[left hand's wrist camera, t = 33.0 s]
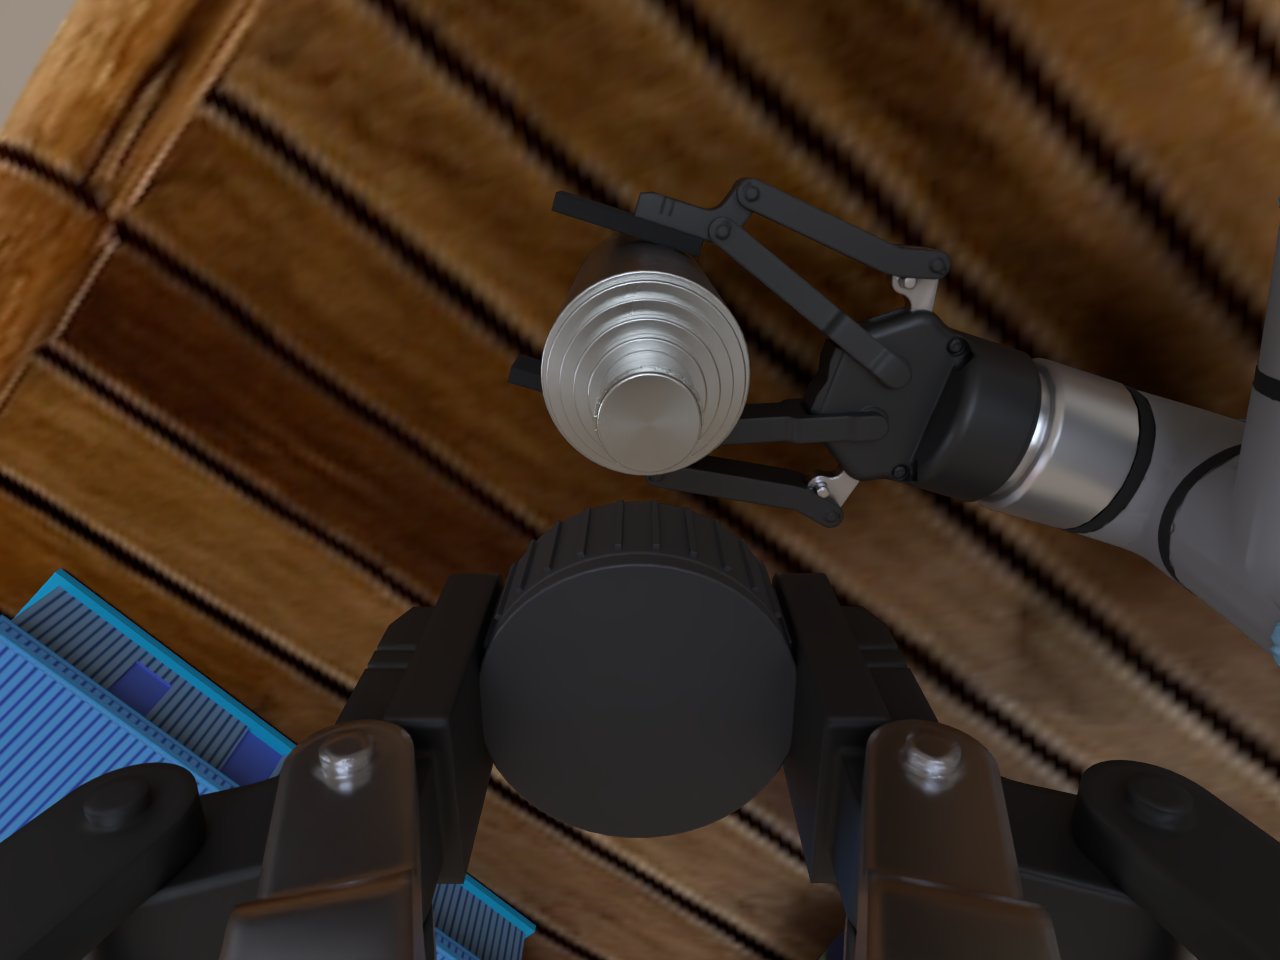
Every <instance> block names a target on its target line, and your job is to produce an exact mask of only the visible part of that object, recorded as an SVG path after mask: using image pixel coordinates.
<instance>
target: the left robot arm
mask: <svg viewBox="0 0 1280 960" xmlns="http://www.w3.org/2000/svg"><path fill="white" fill-rule="evenodd" d="M772 588H775V591H776V594H777V597H778V600H779V604H780V607H781V610H782V613H783V616H784V619H785V622H786V625H787V629H788V632H789V635H790V638H791V641H792V643H791V650H792V653H793V656H794V659H795V662H796V666H797V673H796V687H795V700H794V713H793V726H792V739H791V749H790V752H789V754H788V756H787V757H786V759H785V761H784V762H783V768H784V772H785V776H786V780H787V784H788V789H789V793H790V797H791V801H792V805H793V810H794V814H795V818H796V822H797V826H798V831H799V835H800V839H801V843H802V847H803V852H804V856H805V860H806V864H807V869H808V873H809V877H810V881H811V883H837V884H838V887H839V891H840V895H841V898H842V902H843V906H844V909H845V912H846V914H847V915H846V923H845V932H844V953H843V960H1196V958H1197V959H1198V960H1280V843H1279V842H1278V841H1277V840H1275V839H1274V838H1273V837H1271V836H1270V835H1268V834H1267V833H1266V832H1264V831H1263V830H1261V829H1260V828H1259V827H1257V826H1256V825H1254V824H1253V823H1252V822H1250V821H1249V820H1248V819H1246V818H1245V817H1243V816H1242V815H1241V814H1239V813H1238V812H1236V811H1235V810H1234V809H1232V808H1231V807H1229V806H1228V805H1227V804H1225V803H1224V802H1223V801H1221V800H1220V799H1218V798H1217V797H1216V796H1214V795H1213V794H1211V793H1210V792H1209V791H1207V790H1206V789H1204V788H1203V787H1201V786H1200V785H1198V784H1197V783H1195V782H1193V781H1191V780H1189V779H1187V778H1186V777H1184V776H1181V775H1179V774H1177V773H1175V772H1172V771H1170V770H1167V769H1164V768H1161V767H1158V766H1155V765H1151V764H1147V763H1142V762H1136V761H1128V760H1110V761H1105V762H1100V763H1097V764H1095V765H1093V766H1091V767H1090V768H1088V769H1087V770H1086V771H1085V772H1084V774H1083V775H1082V778H1081V781H1080V785H1079V789H1078V793H1077V795H1075V794H1070V793H1066V792H1061V791H1057V790H1052V789H1048V788H1043V787H1038V786H1034V785H1029V784H1025V783H1021V782H1017V781H1013V780H1010V779H1007V778H1004V777H1001V776H1000V773H999V768H998V765H997V762H996V761H995V759H994V757H993V756H992V754H991V753H990V752H989V751H988V750H987V749H986V748H985V747H984V746H983V745H982V744H981V743H980V742H979V741H977V740H976V739H974V738H973V737H971V736H970V735H968V734H966V733H964V732H962V731H960V730H958V729H955V728H953V727H951V726H948V725H944V724H941V723H939V722H938V720H937V718H936V716H935V715H934V713H933V711H932V709H931V707H930V705H929V703H928V702H927V700H926V698H925V696H924V694H923V692H922V690H921V689H920V687H919V685H918V683H917V681H916V679H915V677H914V675H913V674H912V672H911V670H910V668H907V662H906V661H905V659H904V657H903V655H902V653H901V651H900V650H898V646H897V644H896V642H895V640H894V638H893V636H892V634H891V633H890V631H889V629H888V627H887V625H886V624H885V623H883V622H882V621H881V620H880V619H878V618H877V617H876V616H874V615H873V614H872V613H870V612H869V611H868V610H866V609H865V608H864V607H862V606H840V605H839V602H838V600H837V598H836V596H835V594H834V591H833V589H832V587H831V585H830V583H829V580H828V578H827V576H826V575H825V574H824V573H775V574H774V576H773V580H772ZM501 589H502V590H504V582H503V577H502V575H501V574H451V575H450V576H449V578H448V580H447V582H446V584H445V586H444V589H443V591H442V593H441V595H440V597H439V599H438V601H437V604H436V606H435V607H412V608H411V609H410V610H409V611H407V612H406V613H405V614H403V615H402V616H401V617H399V618H398V619H397V620H395V621H394V622H393V623H391V624H390V625H389V626H388V628H387V630H386V632H385V634H384V636H383V637H382V639H381V641H380V643H379V645H378V649H377V651H375V652H374V654H373V656H372V658H371V659H370V661H369V663H368V669H365V670H364V672H363V674H362V676H361V678H360V680H359V681H358V683H357V685H356V687H355V689H354V690H353V692H352V694H351V696H350V698H349V700H348V701H347V703H346V705H345V707H344V709H343V711H342V712H341V714H340V716H339V718H338V720H337V722H336V723H335V725H332V726H329V727H327V728H325V729H322V730H320V731H318V732H316V733H314V734H312V735H310V736H309V737H307V738H306V739H304V740H303V741H301V742H300V743H299V744H298V745H297V746H296V747H295V748H294V749H293V750H292V751H291V752H290V753H289V754H288V756H287V757H286V759H285V761H284V762H283V765H282V768H281V772H280V775H278V776H275V777H272V778H270V779H267V780H264V781H261V782H257V783H253V784H249V785H245V786H240V787H235V788H231V789H226V790H222V791H217V792H213V793H208V794H204V795H199V791H198V787H197V783H196V780H195V777H194V776H193V774H192V773H191V772H190V771H189V770H187V769H186V768H184V767H182V766H179V765H176V764H171V763H162V762H153V763H142V764H136V765H131V766H127V767H123V768H119V769H116V770H114V771H111V772H108V773H105V774H103V775H101V776H98V777H96V778H94V779H92V780H90V781H88V782H86V783H84V784H83V785H81V786H79V787H78V788H76V789H75V790H73V791H72V792H70V793H69V794H67V795H66V796H64V797H63V798H62V799H60V800H59V801H57V802H56V803H55V804H53V805H52V806H51V807H49V808H48V809H46V810H45V811H44V812H42V813H41V814H39V815H38V816H37V817H35V818H34V819H32V820H31V821H30V822H28V823H27V824H26V825H24V826H23V827H21V828H20V829H19V830H17V831H16V832H14V833H13V834H12V835H10V836H9V837H7V838H6V839H5V840H3V841H2V842H0V960H437V953H436V932H435V923H434V915H433V906H432V900H433V896H434V893H435V889H436V886H437V884H464V881H465V877H466V872H467V868H468V864H469V860H470V856H471V852H472V848H473V844H474V840H475V836H476V832H477V827H478V823H479V819H480V815H481V811H482V807H483V803H484V799H485V795H486V791H487V787H488V783H489V778H490V774H491V770H492V766H493V761H492V759H491V757H490V756H489V754H488V752H487V749H486V747H485V744H484V734H483V721H482V709H481V696H480V684H479V670H480V666H481V662H482V659H483V656H484V653H485V650H486V649H484V641H485V638H486V635H487V632H488V629H489V626H490V623H491V620H492V617H493V614H494V611H495V608H496V605H497V602H498V599H499V595H500V592H501Z"/></svg>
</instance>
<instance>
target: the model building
mask: <svg viewBox="0 0 1280 960" xmlns="http://www.w3.org/2000/svg"><path fill="white" fill-rule="evenodd" d="M296 746H297V745H295V744H294V743H293V742H291V741H290V740H289V739H287V738H286V737H285V736H283V735H282V734H281V733H279V732H278V731H277V730H275V729H274V728H273V727H271V726H270V725H269V724H267V723H266V722H265V721H263V720H262V719H261V718H259V717H258V716H257V715H255V714H254V713H253V712H251V711H250V710H249V709H247V708H246V707H245V706H243V705H242V704H241V703H239V702H238V701H237V700H235V699H234V698H233V697H231V696H230V695H229V694H227V693H226V692H225V691H223V690H222V689H221V688H219V687H218V686H217V685H215V684H214V683H213V682H211V681H210V680H209V679H207V678H206V677H205V676H203V675H202V674H201V673H199V672H198V671H197V670H195V669H194V668H193V667H191V666H190V665H189V664H187V663H186V662H185V661H183V660H182V659H181V658H179V657H178V656H177V655H175V654H174V653H173V652H171V651H170V650H169V649H168V648H166V647H165V646H164V645H162V644H161V643H160V642H158V641H157V640H156V639H154V638H153V637H152V636H150V635H149V634H148V633H146V632H145V631H144V630H142V629H141V628H140V627H138V626H137V625H136V624H134V623H133V622H132V621H130V620H129V619H128V618H126V617H125V616H124V615H122V614H121V613H120V612H118V611H117V610H116V609H114V608H113V607H112V606H110V605H109V604H108V603H106V602H105V601H104V600H102V599H101V598H100V597H98V596H97V595H96V594H94V593H93V592H92V591H90V590H89V589H88V588H86V587H85V586H84V585H82V584H81V583H80V582H78V581H77V580H76V579H74V578H73V577H72V576H70V575H69V574H68V573H66V572H65V571H64V570H62V569H59V570H58V571H56V572H55V573H54V574H53V575H52V577H51V578H50V579H49V580H48V581H47V582H46V583H45V584H44V585H43V587H42V588H41V589H40V590H39V591H38V592H37V593H36V594H35V595H34V597H33V598H32V599H31V600H30V601H29V602H28V603H27V604H26V605H25V607H24V608H23V609H22V610H21V611H20V612H19V613H18V614H17V615H16V617H15V618H14V619H12V620H9V619H8V618H6V617H5V616H4V615H0V842H2V841H3V840H5V839H6V838H7V837H9V836H10V835H12V834H13V833H14V832H16V831H17V830H19V829H20V828H21V827H23V826H24V825H26V824H27V823H28V822H30V821H31V820H32V819H34V818H35V817H37V816H38V815H39V814H41V813H42V812H44V811H45V810H46V809H48V808H49V807H51V806H52V805H53V804H55V803H56V802H57V801H59V800H60V799H62V798H63V797H64V796H66V795H67V794H69V793H70V792H72V791H73V790H75V789H76V788H78V787H79V786H81V785H83V784H84V783H86V782H88V781H90V780H92V779H94V778H96V777H98V776H101V775H103V774H105V773H108V772H111V771H114V770H116V769H119V768H123V767H127V766H131V765H136V764H142V763H153V762H162V763H171V764H176V765H179V766H182V767H184V768H186V769H187V770H189V771H190V772H191V773H192V774H193V776H194V777H195V780H196V783H197V787H198V791H199V795H204V794H208V793H213V792H217V791H222V790H226V789H231V788H235V787H240V786H245V785H249V784H253V783H257V782H261V781H264V780H267V779H270V778H272V777H275V776H278V775H280V772H281V768H282V765H283V762H284V761H285V759H286V757H287V756H288V754H289V753H290V752H291V751H292V750H293V749H294V748H295V747H296ZM432 906H433V915H434V923H435V932H436V953H437V960H521V959H522V952H523V946H524V939H526V938H527V937H528V936H530V935H531V934H532V933H534V932H535V929H536V925H535V924H533V923H532V922H531V921H529V920H528V919H527V918H525V917H524V916H523V915H521V914H520V913H519V912H517V911H516V910H515V909H513V908H512V907H511V906H509V905H508V904H507V903H505V902H504V901H503V900H501V899H500V898H499V897H497V896H496V895H495V894H493V893H492V892H491V891H489V890H488V889H487V888H485V887H484V886H483V885H481V884H480V883H479V882H477V881H476V880H475V879H473V878H472V877H471V876H469V875H468V874H467V873H466V877H465V881H464V884H437V886H436V889H435V893H434V896H433V900H432Z"/></svg>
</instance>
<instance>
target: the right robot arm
mask: <svg viewBox="0 0 1280 960" xmlns="http://www.w3.org/2000/svg"><path fill="white" fill-rule="evenodd" d="M1278 201H1279V206H1280V196H1279V198H1278ZM552 211H555V212H558V213H561V214H564V215H568V216H571V217H574V218H577V219H580V220H583V221H586V222H590V223H593V224H596V225H599V226H602V227H605V228H608V229H612V230H615V231H618V232H621V233H624V234H627V235H630V236H634V237H637V238H640V239H643V240H646V241H649V242H652V243H656V244H659V245H662V246H665V247H668V248H671V249H674V250H678V251H681V252H684V253H687V254H690V255H693V256H696V257H699V254H700V251H701V247H702V244H703V241H704V240H706V241H709V242H712V243H715V244H716V245H717V246H718V247H719V248H721V249H722V250H723V251H724V252H726V253H727V254H728V255H729V256H730V257H732V258H733V259H734V260H735V261H737V262H738V263H739V264H740V265H741V266H743V267H744V268H745V269H746V270H748V271H749V272H750V273H751V274H752V275H754V276H755V277H756V278H757V279H759V280H760V281H761V282H762V283H763V284H765V285H766V286H767V287H768V288H770V289H771V290H772V291H773V292H774V293H776V294H777V295H778V296H779V297H781V298H782V299H783V300H784V301H785V302H787V303H788V304H789V305H790V306H792V307H793V308H794V309H795V310H796V311H798V312H799V313H800V314H801V315H803V316H804V317H805V318H806V319H807V320H809V321H810V322H811V323H812V324H814V325H815V326H816V327H817V328H818V329H820V330H821V331H822V332H823V333H824V334H826V335H827V336H828V337H829V338H830V339H826V341H825V343H824V346H823V349H822V351H821V354H820V363H819V370H818V372H817V374H816V375H815V376H814V378H813V379H812V381H811V382H810V383H809V385H808V387H807V390H806V393H805V395H804V398H800V399H787V400H783V401H782V402H778V403H764V404H747V405H745V407H744V409H743V412H742V414H741V416H740V418H739V420H738V422H737V424H736V425H735V427H734V428H733V430H732V431H731V433H730V434H729V435H728V437H727V438H726V439H725V440H724V441H723V442H722V443H721V444H720V445H732V444H748V443H765V442H782V441H789V442H793V443H797V444H806V443H823V442H824V443H825V445H826V446H827V448H828V449H829V451H830V452H831V453H832V455H833V456H834V458H835V459H836V460H837V462H838V463H839V466H838V467H837V468H835V469H834V470H832V471H822V470H813V471H811V472H809V473H808V474H807V475H806V476H805V475H803V474H801V473H798V472H795V471H792V470H788V469H784V468H778V467H772V466H766V465H760V464H754V463H749V462H743V461H737V460H731V459H725V458H719V457H713V456H706V457H704V458H703V459H701V460H700V461H698V462H696V463H694V464H692V465H690V466H688V467H685V468H683V469H680V470H677V471H674V472H669V473H665V474H659V475H645V479H646V481H647V482H648V483H649V484H650V485H652V486H654V487H659V488H665V489H671V490H677V491H683V492H689V493H695V494H701V495H707V496H713V497H719V498H725V499H731V500H737V501H743V502H749V503H755V504H761V505H767V506H773V507H779V508H785V509H791V510H796V511H798V512H800V513H801V514H803V515H805V516H807V517H809V518H810V519H812V520H814V521H816V522H818V523H819V524H821V525H823V526H825V527H828V528H830V527H835V526H838V525H839V524H840V523H841V522H842V520H843V511H842V509H841V506H842V505H843V503H844V502H845V500H846V499H847V498H848V496H849V495H850V494H851V492H852V491H853V489H854V488H855V487H856V485H857V484H858V482H859V481H871V480H876V479H891V480H895V481H898V482H901V483H904V484H907V485H911V486H914V487H918V488H921V489H924V490H928V491H931V492H935V493H938V494H941V495H945V496H948V497H952V498H955V499H958V500H962V501H966V502H974V501H978V502H979V503H980V505H981V506H983V507H986V508H988V509H991V510H995V511H999V512H1002V513H1006V514H1009V515H1013V516H1016V517H1020V518H1023V519H1027V520H1030V521H1034V522H1038V523H1041V524H1045V525H1048V526H1052V527H1056V528H1059V529H1063V530H1066V531H1069V532H1072V533H1077V534H1080V535H1083V536H1086V537H1089V538H1093V539H1096V540H1099V541H1102V542H1105V543H1108V544H1111V545H1114V546H1118V547H1121V548H1124V549H1126V550H1129V551H1131V552H1134V553H1136V554H1138V555H1140V556H1142V557H1144V558H1145V559H1147V560H1148V561H1149V562H1151V563H1152V564H1153V565H1155V566H1156V567H1157V568H1159V569H1160V570H1161V571H1162V572H1164V573H1165V574H1166V575H1167V576H1169V577H1170V578H1171V579H1173V580H1174V581H1175V582H1177V583H1178V584H1179V585H1181V586H1182V587H1183V588H1185V589H1187V590H1189V591H1190V592H1191V593H1193V594H1194V595H1196V596H1198V597H1199V598H1200V599H1202V600H1203V601H1204V602H1205V603H1207V604H1208V605H1209V606H1210V607H1212V608H1213V609H1214V610H1215V611H1217V612H1218V613H1219V614H1220V615H1222V616H1223V617H1224V618H1225V619H1227V620H1228V621H1229V622H1230V623H1232V624H1233V625H1234V626H1235V627H1237V628H1238V629H1239V630H1240V631H1242V632H1243V633H1244V634H1245V635H1246V636H1248V637H1249V638H1250V639H1251V640H1252V641H1254V642H1255V643H1256V644H1257V645H1259V646H1260V647H1261V648H1262V649H1263V650H1265V651H1266V652H1267V653H1268V654H1269V655H1271V656H1272V657H1273V658H1274V661H1275V662H1276V663H1277V664H1278V665H1279V666H1280V224H1279V231H1278V238H1277V244H1276V251H1275V257H1274V264H1273V270H1272V277H1271V284H1270V290H1269V297H1268V303H1267V310H1266V317H1265V323H1264V330H1263V336H1262V343H1261V349H1260V356H1259V361H1257V362H1258V364H1257V365H1256V371H1255V377H1254V381H1253V384H1252V390H1251V395H1250V401H1249V406H1248V412H1247V418H1246V420H1243V419H1239V420H1236V419H1233V418H1229V417H1226V416H1223V415H1220V414H1217V413H1214V412H1210V411H1207V410H1204V409H1201V408H1197V407H1194V406H1190V405H1187V404H1183V403H1180V402H1177V401H1173V400H1170V399H1166V398H1163V397H1159V396H1156V395H1153V394H1149V393H1146V392H1142V391H1139V390H1136V389H1134V388H1132V387H1130V386H1127V385H1124V384H1122V383H1119V382H1116V381H1113V380H1110V379H1107V378H1103V377H1100V376H1097V375H1094V374H1091V373H1088V372H1085V371H1082V370H1079V369H1076V368H1073V367H1069V366H1066V365H1063V364H1060V363H1057V362H1054V361H1051V360H1048V359H1043V358H1035V359H1032V358H1031V357H1030V356H1029V355H1028V354H1026V353H1025V352H1023V351H1020V350H1016V349H1013V348H1010V347H1007V346H1004V345H1001V344H998V343H995V342H991V341H988V340H985V339H982V338H979V337H976V336H973V335H970V334H967V333H963V332H960V331H957V330H954V329H951V328H949V327H947V326H946V325H945V324H944V323H943V322H942V321H941V319H940V318H939V317H938V316H937V315H936V314H935V313H933V312H932V311H933V305H934V300H935V295H936V290H937V284H938V279H941V278H942V277H944V276H945V275H946V274H947V273H948V272H949V270H950V267H951V260H950V258H949V256H948V255H947V254H946V253H944V252H941V251H938V250H934V249H931V248H927V247H923V246H912V245H898V244H891V243H889V242H887V241H885V240H883V239H881V238H878V237H876V236H874V235H872V234H870V233H868V232H866V231H864V230H862V229H860V228H858V227H856V226H854V225H851V224H849V223H847V222H845V221H843V220H841V219H839V218H837V217H835V216H833V215H831V214H829V213H827V212H824V211H822V210H820V209H818V208H816V207H814V206H812V205H810V204H808V203H806V202H804V201H802V200H800V199H797V198H795V197H793V196H791V195H789V194H787V193H785V192H783V191H781V190H779V189H777V188H775V187H773V186H770V185H768V184H766V183H764V182H762V181H760V180H758V179H754V178H741V179H739V180H737V181H736V182H735V184H734V185H733V187H732V189H731V190H730V192H729V193H728V194H727V196H726V197H725V198H724V200H723V201H722V202H721V203H720V204H719V205H718V206H716V207H714V208H711V209H705V208H701V207H698V206H695V205H692V204H689V203H685V202H682V201H679V200H676V199H673V198H670V197H667V196H664V195H661V194H658V193H655V192H644V193H640V195H639V199H638V202H637V205H636V209H635V212H634V214H633V213H630V212H627V211H623V210H620V209H617V208H614V207H611V206H608V205H605V204H602V203H599V202H595V201H592V200H589V199H586V198H583V197H580V196H577V195H574V194H571V193H567V192H564V191H559V192H556V195H555V199H554V203H553V206H552ZM753 212H755V213H757V214H759V215H761V216H763V217H765V218H767V219H770V220H772V221H774V222H776V223H778V224H780V225H782V226H784V227H786V228H789V229H791V230H793V231H795V232H797V233H799V234H801V235H803V236H805V237H807V238H810V239H812V240H814V241H816V242H818V243H820V244H822V245H824V246H826V247H829V248H831V249H833V250H835V251H837V252H839V253H841V254H843V255H845V256H848V257H850V258H852V259H854V260H856V261H858V262H860V263H862V264H864V265H867V266H869V267H872V268H874V269H876V270H879V271H881V272H884V273H886V274H887V276H886V282H887V285H888V287H889V288H890V289H891V290H893V291H895V292H897V293H900V294H901V295H902V296H903V297H904V300H905V307H903V308H900V309H897V310H894V311H891V312H888V313H885V314H882V315H879V316H876V317H873V318H870V319H867V320H864V321H861V322H858V323H856V322H855V321H854V320H852V319H851V318H850V317H849V316H848V315H846V314H845V313H844V312H843V311H841V310H840V309H839V308H838V307H836V306H835V305H834V304H833V303H832V302H830V301H829V300H828V299H827V298H826V297H824V296H823V295H822V294H821V293H820V292H818V291H817V290H816V289H815V288H814V287H812V286H811V285H810V284H809V283H807V282H806V281H805V280H804V279H803V278H801V277H800V276H799V275H798V274H797V273H795V272H794V271H793V270H792V269H791V268H789V267H788V266H787V265H786V264H785V263H783V262H782V261H781V260H780V259H779V258H777V257H776V256H775V255H774V254H773V253H771V252H770V251H769V250H768V249H767V248H765V247H764V246H763V245H762V244H761V243H759V242H758V241H757V240H756V239H755V238H753V237H752V236H751V235H750V234H749V233H747V232H746V231H745V230H744V229H742V226H743V225H744V224H745V222H746V221H747V220H748V218H749V217H750V216H751V215H752V213H753ZM541 362H542V361H541V360H538V359H535V358H531V357H528V356H525V355H521V354H519V356H518V357H517V359H516V361H515V362H514V364H513V365H512V367H511V371H510V375H509V379H508V383H512V384H515V385H518V386H522V387H525V388H529V389H532V390H536V391H539V392H542V393H543V391H542V385H541Z"/></svg>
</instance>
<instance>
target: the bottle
mask: <svg viewBox="0 0 1280 960" xmlns="http://www.w3.org/2000/svg"><path fill="white" fill-rule="evenodd" d="M750 378H751V367H750V356H749V351H748V346H747V343H746V340H745V337H744V334H743V332H742V330H741V328H740V326H739V324H738V322H737V320H736V319H735V317H734V316H733V314H732V313H731V311H730V310H729V308H728V307H727V305H726V304H725V303H724V301H723V300H722V298H721V297H720V295H719V294H718V292H717V291H716V289H715V288H714V286H713V285H712V284H711V282H710V281H709V279H708V278H707V276H706V275H705V273H704V272H703V270H702V269H701V268H700V266H699V265H698V263H697V262H696V260H695V259H694V257H693V256H692V255H690V254H687V253H684V252H681V251H678V250H674V249H671V248H668V247H665V246H662V245H659V244H656V243H652V242H649V241H646V240H643V239H640V238H637V237H634V236H630V235H627V234H624V233H620V234H617V235H615V236H612V237H610V238H609V239H607V240H605V241H603V242H602V243H601V244H600V245H598V246H597V247H596V248H595V249H594V250H593V251H592V252H591V253H590V254H589V255H588V257H587V258H586V259H585V261H584V263H583V264H582V266H581V268H580V270H579V272H578V274H577V276H576V278H575V280H574V282H573V284H572V286H571V288H570V290H569V292H568V295H567V297H566V299H565V301H564V303H563V305H562V307H561V309H560V311H559V313H558V315H557V317H556V319H555V321H554V323H553V325H552V327H551V330H550V332H549V334H548V337H547V339H546V342H545V346H544V350H543V354H542V362H541V385H542V391H543V396H544V400H545V403H546V407H547V409H548V411H549V414H550V416H551V418H552V420H553V422H554V424H555V425H556V427H557V429H558V430H559V432H560V433H561V434H562V435H563V437H564V438H565V439H566V440H567V442H568V443H570V444H571V445H572V446H573V447H574V448H575V449H576V450H577V451H578V452H579V453H581V454H582V455H583V456H585V457H586V458H588V459H589V460H591V461H593V462H595V463H596V464H598V465H600V466H603V467H605V468H608V469H610V470H614V471H617V472H621V473H626V474H632V475H659V474H665V473H669V472H674V471H677V470H680V469H683V468H685V467H688V466H690V465H692V464H694V463H696V462H698V461H700V460H701V459H703V458H704V457H706V456H707V455H709V454H710V453H711V452H713V451H714V450H715V449H716V448H717V447H718V446H719V445H720V444H721V443H722V442H723V441H724V440H725V439H726V438H727V437H728V435H729V434H730V433H731V431H732V430H733V428H734V427H735V425H736V424H737V422H738V420H739V418H740V416H741V414H742V412H743V409H744V407H745V404H746V401H747V397H748V393H749V388H750Z"/></svg>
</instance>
